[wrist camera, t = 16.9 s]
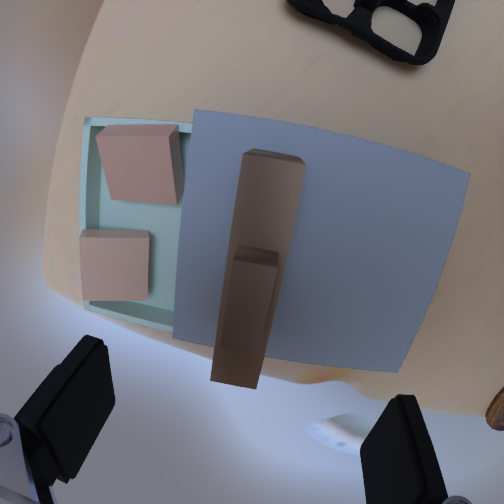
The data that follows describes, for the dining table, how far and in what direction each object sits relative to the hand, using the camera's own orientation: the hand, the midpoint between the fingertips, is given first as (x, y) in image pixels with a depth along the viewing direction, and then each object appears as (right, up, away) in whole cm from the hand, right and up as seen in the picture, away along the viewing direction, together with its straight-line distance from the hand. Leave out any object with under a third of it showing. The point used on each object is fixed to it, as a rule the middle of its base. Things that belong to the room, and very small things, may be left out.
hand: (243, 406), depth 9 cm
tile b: (-11, +3, +17) cm, 21 cm away
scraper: (+1, +5, +13) cm, 14 cm away
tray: (-10, +8, +19) cm, 22 cm away
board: (+5, +6, +18) cm, 20 cm away
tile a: (-8, +12, +15) cm, 21 cm away
